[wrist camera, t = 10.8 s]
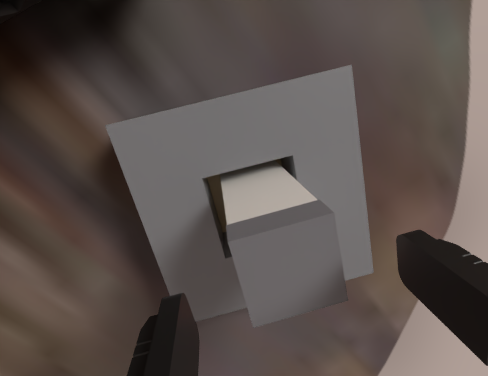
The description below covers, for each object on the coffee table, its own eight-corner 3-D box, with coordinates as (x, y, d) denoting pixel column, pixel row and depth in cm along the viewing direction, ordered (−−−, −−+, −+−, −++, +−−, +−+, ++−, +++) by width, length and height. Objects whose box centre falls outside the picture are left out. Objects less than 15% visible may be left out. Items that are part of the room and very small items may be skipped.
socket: (129, 119, 20) (99, 126, 15) (319, 72, 21) (358, 63, 15) (186, 282, 25) (180, 334, 19) (342, 240, 25) (379, 279, 20)
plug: (218, 171, 21) (227, 242, 11) (272, 156, 21) (334, 212, 11) (232, 221, 22) (253, 327, 12) (283, 207, 22) (348, 300, 12)
